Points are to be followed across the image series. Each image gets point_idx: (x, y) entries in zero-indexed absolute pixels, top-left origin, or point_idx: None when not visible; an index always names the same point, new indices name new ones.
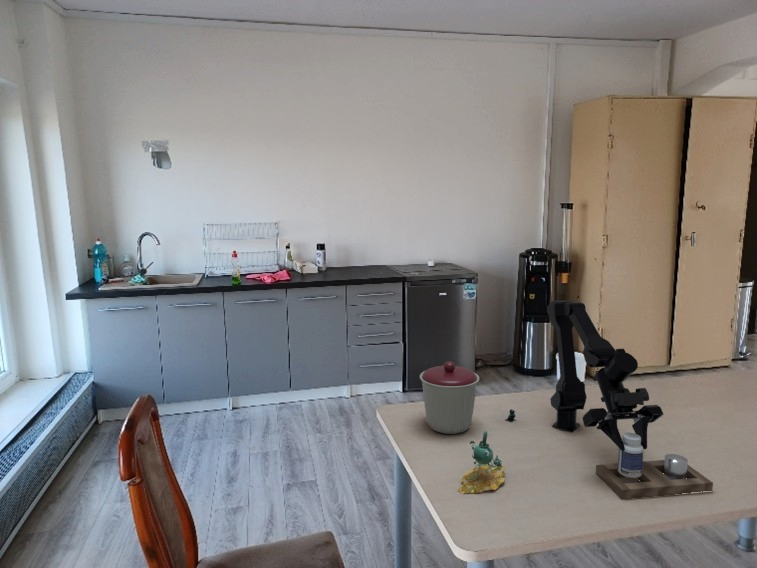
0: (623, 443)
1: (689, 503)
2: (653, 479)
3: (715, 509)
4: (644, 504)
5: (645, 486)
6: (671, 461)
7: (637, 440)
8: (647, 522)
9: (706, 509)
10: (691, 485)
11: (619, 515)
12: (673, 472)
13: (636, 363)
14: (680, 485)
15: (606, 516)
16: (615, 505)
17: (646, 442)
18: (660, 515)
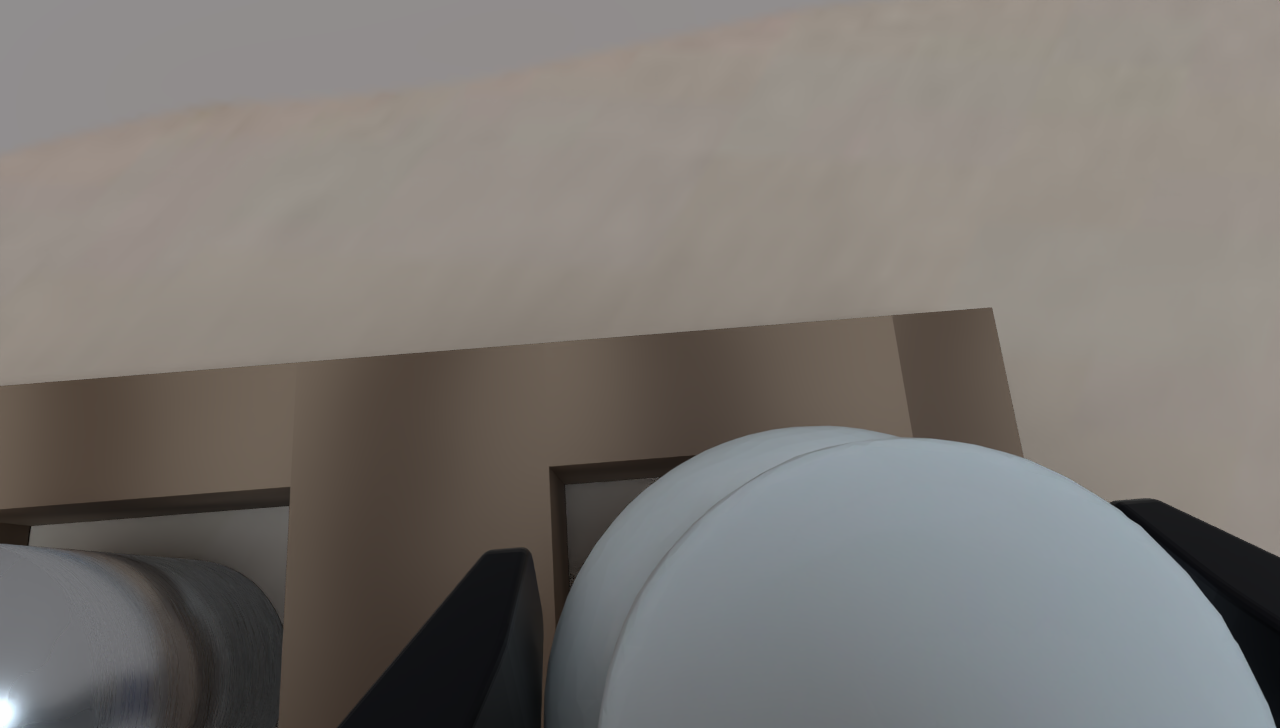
0: (1215, 582)
1: (326, 256)
2: (500, 512)
3: (170, 161)
4: (758, 261)
5: (686, 364)
6: (70, 628)
7: (844, 446)
8: (863, 21)
9: (247, 164)
10: (135, 377)
11: (1065, 115)
12: (164, 585)
13: None
14: (266, 366)
15: (1188, 106)
16: (1048, 258)
17: (438, 630)
18: (702, 102)
